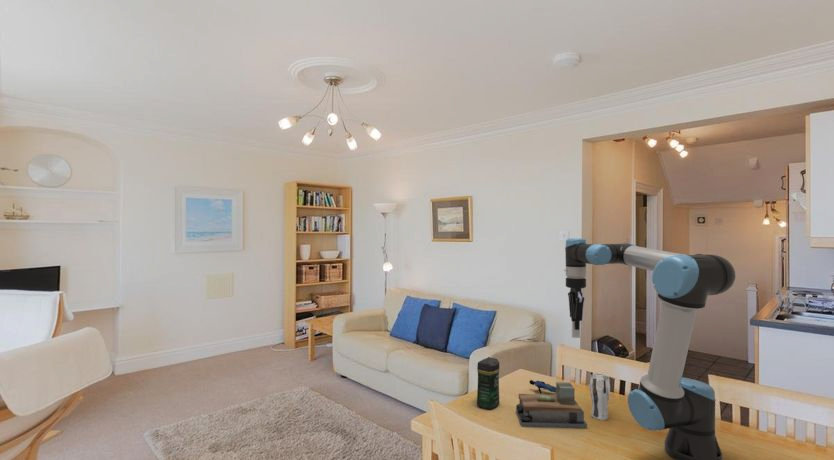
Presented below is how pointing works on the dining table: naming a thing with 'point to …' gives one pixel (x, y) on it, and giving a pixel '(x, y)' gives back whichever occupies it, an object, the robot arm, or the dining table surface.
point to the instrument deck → (546, 405)
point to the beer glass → (599, 396)
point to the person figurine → (543, 386)
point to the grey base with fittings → (550, 418)
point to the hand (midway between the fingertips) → (575, 337)
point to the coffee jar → (488, 383)
